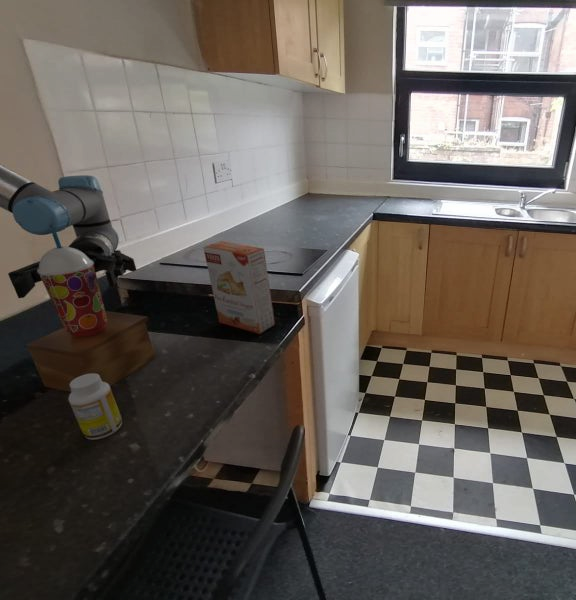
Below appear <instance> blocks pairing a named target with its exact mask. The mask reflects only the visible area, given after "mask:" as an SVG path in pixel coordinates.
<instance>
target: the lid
mask: <svg viewBox="0 0 576 600" xmlns="http://www.w3.org/2000/svg"><path fill="white" fill-rule="evenodd" d="M105 313H106V317H107V322H106V323H105V324H106V327H105V329H103V330H102V331H100V332H99V333H96V334H94V335H90V336H85V337H74V336H72V335H71V334H70V332H67V331H66V330H65V328H64V327H61V328H59V329H56V330H55V331H53V332H51V333H48V334H46V335H44V336H42V337H40V338H38V339H35V340H33V341H31V342H29V343H27V344H26V348H27V349H35V350H41V351H47V352H52V353H58V354H64V355H70V356H76V357H81V356H83V355H85V354H87V353H89V352H91V351H92V350H94V349H96V348H98V347H100V346H102V345H104V344H105V343H107V342H109V341H111V340H113V339H115V338H116V337H118V336H120V335H122V334H124V333H126V332H127V331H129V330H131V329H133V328H135V327H137V326H139V325H140V324H142V323H144V322H145V323H147V322H148V321H149V317H148V316H145V315H137V314H131V313H123V312H115V311H109V310H105Z"/></svg>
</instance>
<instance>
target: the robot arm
mask: <svg viewBox="0 0 576 600" xmlns="http://www.w3.org/2000/svg"><path fill="white" fill-rule="evenodd" d="M57 183H58V189H57V190H52V191H51V190H50V189H47V188H45V187H43V186H42V185H40V184H37V183H36V182H33V181H32V180H30V179H28V178H27V177H25V176H23V175H22V174H20V173H18V172H15V171H13V170H11V169H10V168H8V167H6V166H4V165H3V164H0V208H1V209H3V210H5V211H7V212H9V213H11V214H12V216H13V218H14V221H15V223H17V224H18V225H19V227H20V228H21V229H22V230H24V231H26V232H27V233H30V234H32V235H37V236H47V235H51V234H52V233H54V232H56V233H59V232H62V231H65V230H66V229H67V228H69V227H71V226H72V228H73V231H74V233H75V234H74V235H75V237H76V238H74V240H72V242H71V243H70V244H69V245H68V246H67V247H71V248H75V249H78V250H80V251H81V252H83V253H84V254H85V255H86V256H87V257H88V258H89V259H90V260H92V261H93V262H94V264H93V265H94V268H95V272H96V273H98V272H102V271H105V276H106V280H107V283H108V285H109V287H114V286H115V285H116V283H117V281H118V278H119V277H122V276H124V274H126V273H127V271H129V272H136V271H137V266H136V263H135V259H134V258H133V257H131V256H129V255H126V254H124V253H123V252H122V251H121V250H120V249H117V248H118V246H119V243H120V241H119V239H120V238H119V234H118V232H117V230H115V228H113V225H112V221H111V219H110V215H109V212H108V208H107V204H106V200H105V197H104V191H103V190H102V188H101V185H100V183H99V180H98V178H96V177H95V176H93V175H87V174H86V175H85V174H83V175H81V174H80V175H67V176H62V177H60V178H59V179H58V182H57ZM39 263H40V260H39V261H36V262H34V263H33V262H32V263H30V264H28V265H26V266H23V267H19V268H18V269H15V270H12V271H9V272H8V273H7V275H8V277H9V280H10V283H11V285H12V286H13V289H14V291H15V293H16V296H17V298H18V299H24V298H26V296H27V295H28V294H30V292H31V291H32V290H33V289H34V288H35V287H36V284H37V283H40V282H42V279H41V277H40V275H39V274H38V272H37V269H38V268H39Z"/></svg>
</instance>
